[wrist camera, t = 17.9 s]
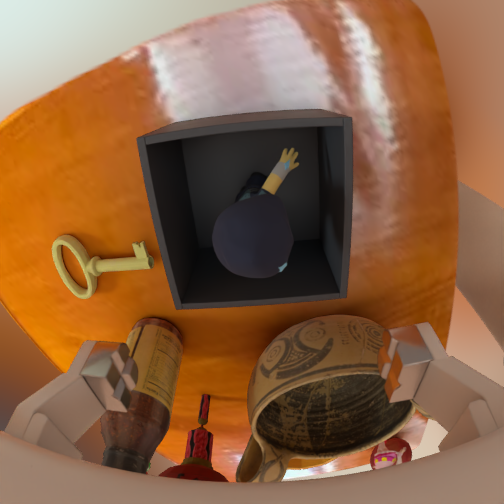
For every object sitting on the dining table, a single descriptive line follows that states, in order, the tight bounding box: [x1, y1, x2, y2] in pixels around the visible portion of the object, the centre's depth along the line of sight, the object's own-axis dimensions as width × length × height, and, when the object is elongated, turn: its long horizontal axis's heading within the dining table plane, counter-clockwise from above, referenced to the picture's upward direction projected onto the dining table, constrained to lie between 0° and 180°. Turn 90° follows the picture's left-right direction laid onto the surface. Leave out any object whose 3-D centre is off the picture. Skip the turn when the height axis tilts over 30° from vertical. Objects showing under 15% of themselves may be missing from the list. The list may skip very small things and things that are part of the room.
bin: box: [137, 109, 353, 310], centre depth 21 cm, size 12×12×8 cm
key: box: [52, 235, 154, 299], centre depth 27 cm, size 7×12×2 cm, turn 117°
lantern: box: [159, 394, 229, 482], centre depth 26 cm, size 10×10×30 cm
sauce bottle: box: [100, 318, 183, 474], centre depth 25 cm, size 7×6×20 cm
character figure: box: [212, 148, 299, 278], centre depth 19 cm, size 9×4×12 cm, turn 146°
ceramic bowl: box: [236, 315, 436, 483], centre depth 27 cm, size 22×17×15 cm
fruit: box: [370, 437, 412, 470], centre depth 43 cm, size 8×8×10 cm
